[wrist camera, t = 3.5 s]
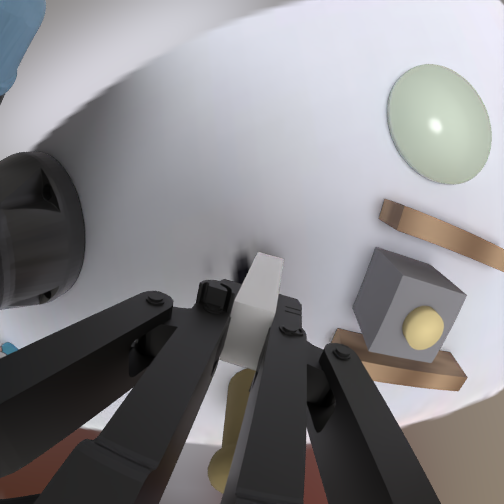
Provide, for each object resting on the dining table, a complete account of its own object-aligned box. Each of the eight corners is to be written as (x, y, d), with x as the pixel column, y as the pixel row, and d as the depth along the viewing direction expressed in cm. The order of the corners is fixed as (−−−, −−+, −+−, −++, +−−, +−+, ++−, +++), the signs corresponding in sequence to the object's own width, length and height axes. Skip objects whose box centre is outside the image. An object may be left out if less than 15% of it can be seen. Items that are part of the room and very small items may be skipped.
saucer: (374, 157, 18) (378, 157, 17) (396, 49, 16) (401, 45, 15) (472, 200, 18) (479, 201, 17) (490, 99, 15) (496, 97, 14)
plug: (352, 307, 22) (371, 360, 15) (375, 246, 20) (409, 281, 13) (405, 320, 21) (436, 371, 15) (430, 264, 20) (474, 301, 13)
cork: (221, 368, 25) (184, 467, 14) (290, 364, 24) (282, 472, 13) (236, 414, 26) (210, 505, 16) (297, 411, 25) (291, 508, 15)
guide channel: (330, 343, 23) (335, 374, 19) (384, 198, 19) (404, 205, 15) (442, 365, 22) (458, 391, 18) (498, 246, 18) (525, 260, 14)
